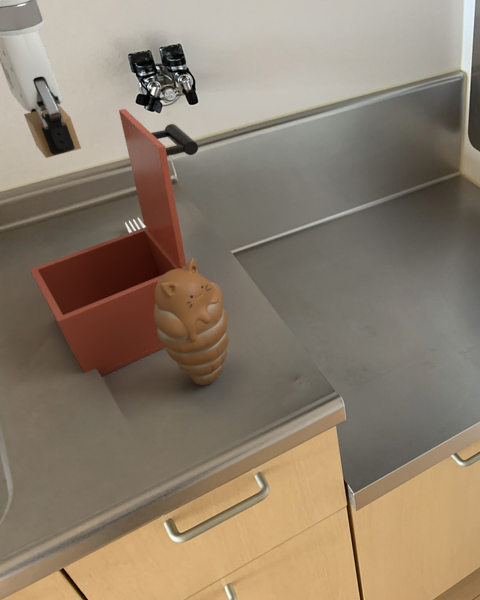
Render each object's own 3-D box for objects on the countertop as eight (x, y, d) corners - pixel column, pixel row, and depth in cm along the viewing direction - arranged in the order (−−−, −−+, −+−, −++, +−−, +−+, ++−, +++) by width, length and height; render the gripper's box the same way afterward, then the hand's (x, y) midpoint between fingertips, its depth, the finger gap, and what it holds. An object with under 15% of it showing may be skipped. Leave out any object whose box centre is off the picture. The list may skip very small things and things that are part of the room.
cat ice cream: (212, 413, 75) (176, 303, 63) (162, 392, 77) (119, 282, 65) (254, 365, 81) (229, 256, 69) (207, 347, 83) (175, 238, 71)
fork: (174, 292, 92) (171, 282, 90) (125, 232, 103) (121, 223, 102) (194, 283, 93) (191, 273, 92) (143, 225, 105) (140, 216, 104)
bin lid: (158, 147, 68) (207, 136, 71) (118, 109, 75) (164, 101, 78) (180, 268, 78) (223, 254, 81) (143, 224, 85) (183, 213, 88)
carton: (46, 158, 89) (33, 125, 86) (36, 145, 92) (23, 113, 89) (81, 148, 91) (70, 116, 88) (70, 136, 94) (59, 105, 91)
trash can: (88, 382, 78) (57, 321, 71) (60, 329, 86) (29, 268, 79) (202, 330, 86) (184, 269, 78) (167, 284, 93) (147, 226, 86)
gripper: (-38, 4, 83) (15, 131, 94) (-8, 37, 73) (47, 174, 84) (22, -4, 86) (66, 118, 98) (58, 26, 76) (102, 158, 88)
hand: (57, 143), depth 91 cm, fingers closed on carton, 5 cm apart
